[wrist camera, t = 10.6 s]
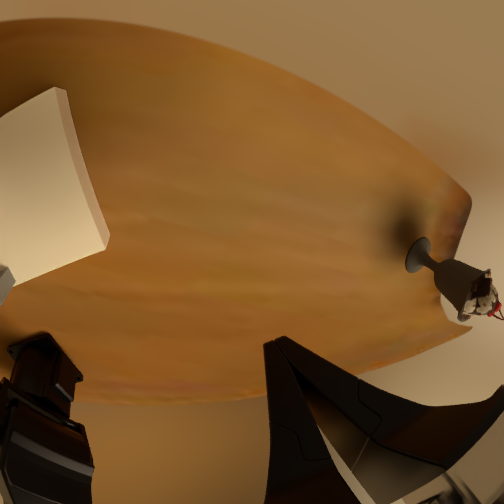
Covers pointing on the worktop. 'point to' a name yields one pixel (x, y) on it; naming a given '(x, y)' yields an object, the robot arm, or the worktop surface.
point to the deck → (45, 190)
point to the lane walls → (5, 284)
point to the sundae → (457, 282)
